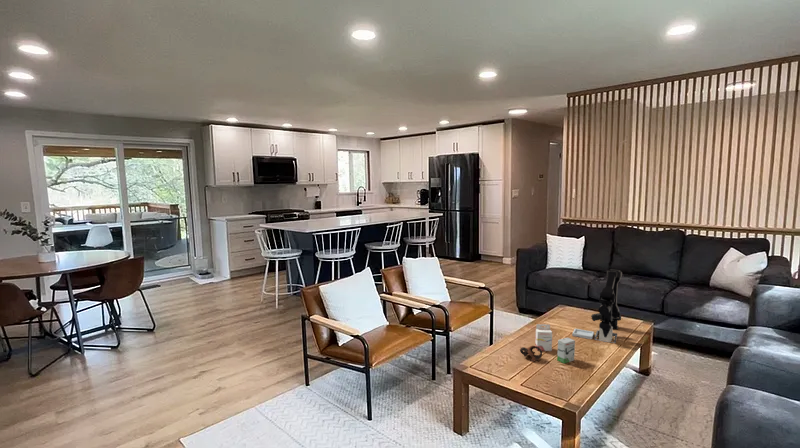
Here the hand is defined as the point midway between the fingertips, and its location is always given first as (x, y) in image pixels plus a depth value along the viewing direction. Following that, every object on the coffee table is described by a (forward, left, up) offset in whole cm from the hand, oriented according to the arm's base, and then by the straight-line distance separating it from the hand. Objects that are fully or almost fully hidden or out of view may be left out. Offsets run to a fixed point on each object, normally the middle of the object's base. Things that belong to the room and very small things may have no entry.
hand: (605, 334), depth 253 cm
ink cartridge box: (+34, -30, -3) cm, 46 cm away
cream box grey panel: (0, 0, -3) cm, 3 cm away
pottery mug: (+50, -34, -3) cm, 60 cm away
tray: (0, -13, -3) cm, 13 cm away
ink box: (+43, -16, -3) cm, 46 cm away
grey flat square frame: (-2, 0, -3) cm, 3 cm away
